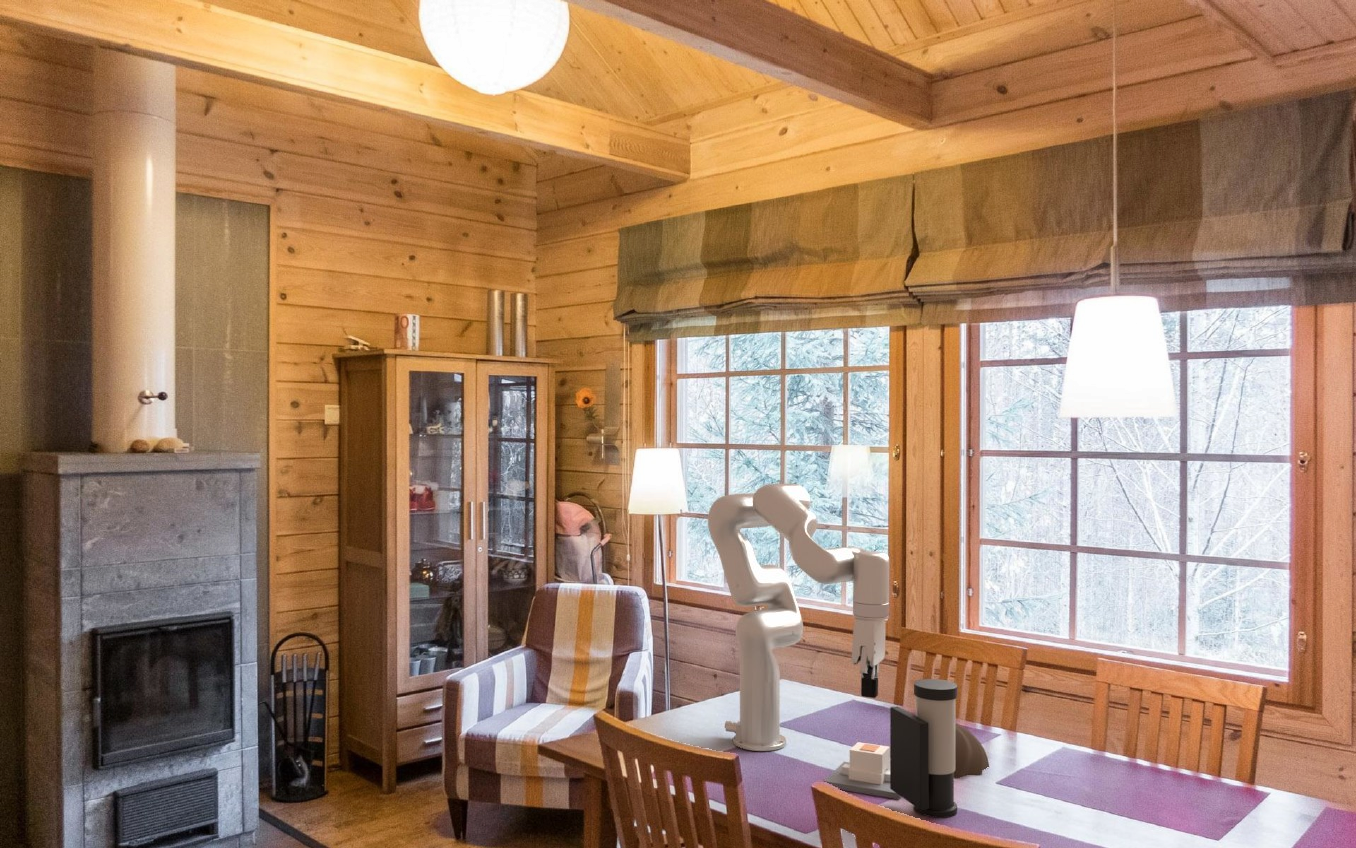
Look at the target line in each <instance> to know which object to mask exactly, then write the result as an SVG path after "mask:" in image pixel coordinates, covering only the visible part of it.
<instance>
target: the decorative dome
mask: <svg viewBox="0 0 1356 848" xmlns="http://www.w3.org/2000/svg"><path fill="white" fill-rule="evenodd" d="M987 767H989V768H990V763H989V758H988V755H987V753H986V750H985V748H984V747H983V744H981V742H980V741H979V739H978V738H977V737H976V736H975V735H974V734H973V733H972V732H971V731H970V730H968V729H967V728H966V727H965V726H963V725H961V724H960V723H957V722H955V771H954V779H961V778H964V777H967V775H975V776H982V774H983V771H985V770H987V769H988V768H987ZM986 768H987V769H986ZM984 769H985V770H984ZM960 777H961V778H960Z"/></svg>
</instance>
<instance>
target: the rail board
mask: <svg viewBox="0 0 1356 848" xmlns="http://www.w3.org/2000/svg"><path fill="white" fill-rule="evenodd" d="M849 769H850V761H843V762H842V763H841V764H840V765H839V766H838V767H837V768H836V769H835V770H833V772H832V773H831V774H830V775H828V777H826V778H825V779H824V780H823V783H824V782H827V783H829V784H832V785H833V786H835V787H838V788H840V789H842V790H841V791H847V792H854V793H857V794H858V793H859V794H864V795H871V796H877V797H883V798H888V799H895V800H900V799H901V798H902V797H901V796H900V795H898V794H897V793H896V792H894V791H893V790H891V789H890V771H887V770H885V781H884V782H883V783H882V784H875V783H869V782H863V781H857V780H851V779H849ZM840 789H839V790H840Z"/></svg>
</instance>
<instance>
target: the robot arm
mask: <svg viewBox="0 0 1356 848" xmlns="http://www.w3.org/2000/svg"><path fill="white" fill-rule="evenodd" d="M810 506H811V498H810V495H809V493H808V491H807V490H806V489H805V488H804V487H803V485H802V486H801V485H800V484H797V483H794V482H793V483H788V482H787V483H786V482H785V483H770V484H769V483H768V484H764V485H763V486H760V487H759V488H758V489H756V491H755V492H754V493H752V492H750V493H732V494H731V493H730V494H727V495H724V496H721V497H719V498H717V499H716V500H714V501H713V503H712V504H711V506H710V508H709V511H708V516H707V527H708V532H709V535H710V538H711V540H712V542H713V545H714V546H715V548H716V550H717V553H718V555H719V558H720V561H721V566H722V569H723V573H724V577H725V580H726V583H727V587H728V590H729V594H730V597H731V598H732V600H733V602H734V604H736V605H737V606H739V607H743V608H747V607H756V606H763V605H766V606H765V607H766V608H765V609H759V610H757V609H756V610H752V611H749V612H746V613H744V614H743V615H742V616H741V617H740V618H738V620H737V622H736V624H735V638H736V643H737V650H738V656H739V658H738V659H739V660H738V661H739V721H737V722H734V721H731V720H726V721H725V722H724V728H725V731H726V732H728V733H729V732H730V733H734V734H735V735H733V737H732V739H733V740H732V741H733V744H734V745H735V746H736V747H737V746H738V748H739V747H740V749H742V748H743V750H747V751H754V752H755V751H756V752H769V751H770V752H771V751H776V750H779V749H782V748H784V747H785V746H787V745H786V744H787V738H786V736H784V735H782V734H780V733H781V732H780V726H781V725H780V724H781V721H780V719H781V717H780V716H781V715H780V713H781V711H780V710H781V709H780V707H781V703H780V702H781V701H780V698H781V697H780V696H781V695H780V693H781V691H780V686H781V683H780V681H781V679H780V678H781V677H780V676H781V673H780V670H781V669H780V666H779V665H780V664H779V662H778V660H777V658H776V656H775V654H774V652H773V651H774V650H775V649H781V648H786V647H790V646H793V645H796V644H797V643H799V642H800V641H801V639H802V637H803V634H804V624H803V618H802V615H801V611H800V608H799V604H798V602H797V598H796V595H795V592H794V588H793V586H792V583H791V580H790V577H789V576H788V574H787V572H786V571H785V570H784V569H783V568H781V566H778V565H777V564H776V565H775V564H762V565H761V564H760V563H759V562H758V559H757V557H756V553H755V549H754V547H753V545H752V544H751V542H750V541H749V540H748V538H747V537H746V536H745V535H744V534H743V533H742V532H741V530H742V529H751V528H764V527H771V528H773V529H774V530H775V531H776V532H777V533H779V535H781V536H782V537H783V538H785V540H787V542H788V548H789V552H790V556H791V558H792V560H793V561H794V563H795V565H796V566H797V567H798V568H799V569H800V570H801V571H803V573H805V574H806V575H807V576H808V577H810V578H811V579H812V580H814V581H816V582H818V583H820V584H822V585H823V584H824V585H833V584H839V583H848V582H853V584H852V618H854V624H853V630H852V631H853V632H852V633H853V634H852V647H851V664H852V665H854V666H857V664H859V663H860V667H859V673H860V678H861V679H860V681H861V682H860V683H861V684H860V687H861V688H860V695H861V697H862V698H863V697H864V698H871V699H876V697H877V698H878V696H879V678H878V677H879V666H880V663H881V662H882V661H883V660H884V659H885V656H886V620H889V617H890V615H889V613H890V609H889V608H890V557H889V555H888V554H886V553H885V552H881V551H873V550H871V551H870V550H866V549H863V548H861V547H857V546H844V547H843V546H842V547H832V548H831V547H829V548H824V547H822V546H821V545H820V544H818V543H817V542H816V541H815V540H814V539H813V538H812V537H813V536H814V534H815V532H816V530H817V528H818V518H817V516H816V515H815V513H814V512H812V511H810V508H811V507H810Z"/></svg>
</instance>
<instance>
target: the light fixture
mask: <svg viewBox="0 0 1356 848" xmlns="http://www.w3.org/2000/svg"><path fill="white" fill-rule="evenodd" d="M958 687H959V686H958V684H957V683H956V682H953V681H950V680H945V679H938V678H936V679H935V678H923V679H918V680H915V681H914V682H913V695H914V696H915V715H914V714H913V713H911V712H909V711H907V710H905V709H904V708H901V707H899V706H890V708H889V709H890V711H889V713H890V716H889V717H890V720H889V721H890V725H889V726H890V728H889V729H890V731H889V733H890V736H889V739H890V740H889V743H890V744H889V745H890V746H889V747H890V789H891V790H893V791H894V792H896V793H897V794H898V795H900V796H901V798H902V799H904V800H906V801H907V802H908V803H910V804H911V805H912V806H913V808H914V810H915V811H916V812H917V813H919V814H921V815H923V816H927V817H932V818H949V817H953V816H955V815H956V814H957V813H958V804H957V803H956V802H955V797H954V796H955V789H954V788H955V787H954V784H955V782H954V781H955V780H954V779H955V778H954V771H955V723H956V699H957V698H958V696H959V694H958V693H959V691H958V689H959V688H958Z"/></svg>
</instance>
